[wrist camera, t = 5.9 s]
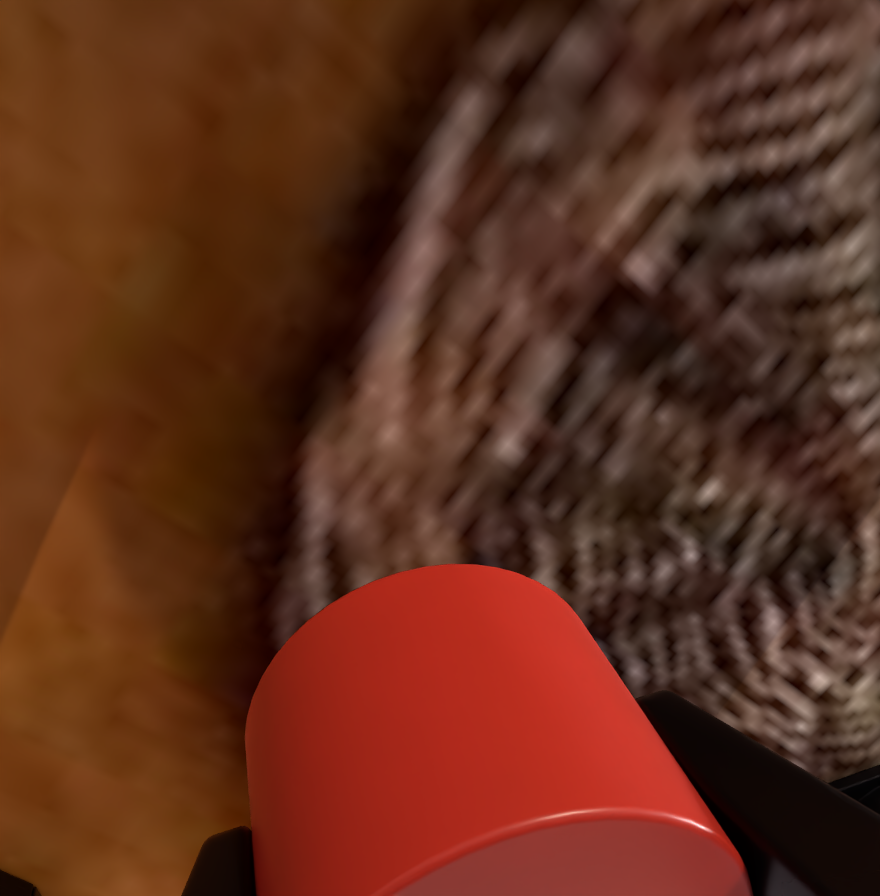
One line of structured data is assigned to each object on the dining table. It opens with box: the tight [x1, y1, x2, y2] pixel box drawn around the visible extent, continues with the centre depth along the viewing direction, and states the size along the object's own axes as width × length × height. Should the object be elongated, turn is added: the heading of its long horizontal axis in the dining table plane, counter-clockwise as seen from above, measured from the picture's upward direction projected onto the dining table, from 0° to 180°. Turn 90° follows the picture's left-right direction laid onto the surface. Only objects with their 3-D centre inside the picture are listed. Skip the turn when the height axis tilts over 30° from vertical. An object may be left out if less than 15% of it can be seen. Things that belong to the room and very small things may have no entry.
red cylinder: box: [245, 564, 753, 896], centre depth 8 cm, size 4×4×3 cm
